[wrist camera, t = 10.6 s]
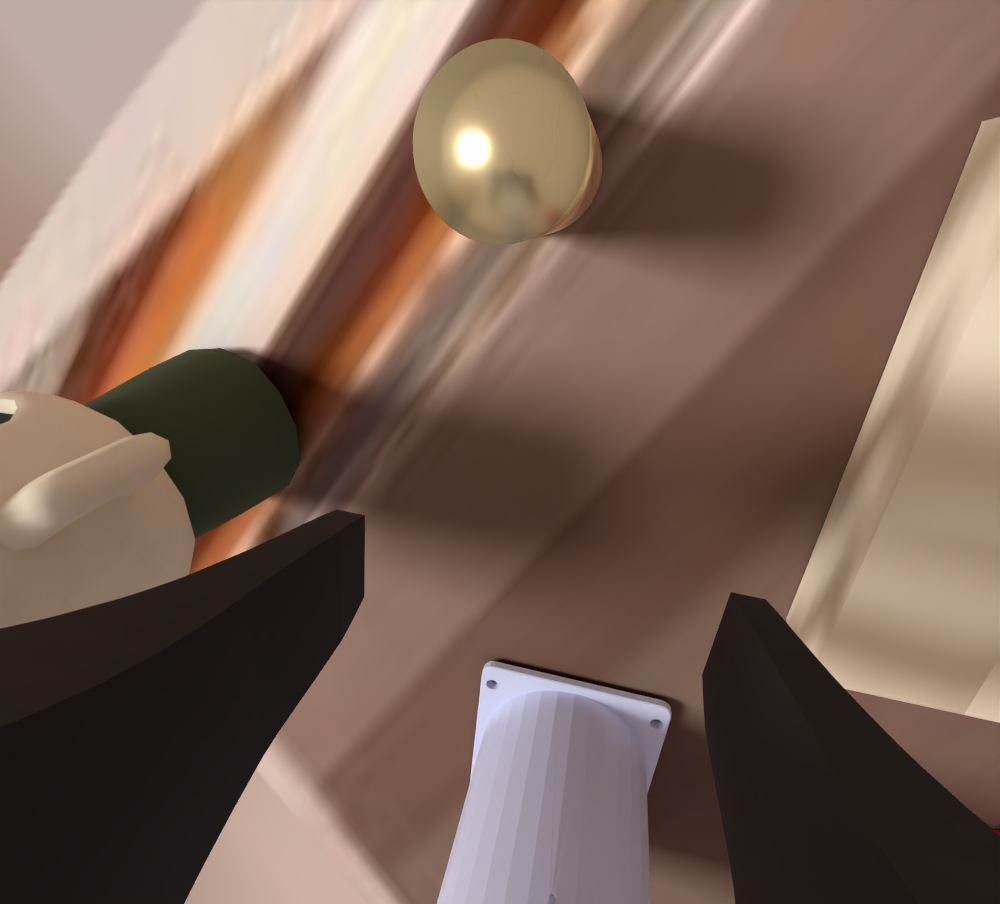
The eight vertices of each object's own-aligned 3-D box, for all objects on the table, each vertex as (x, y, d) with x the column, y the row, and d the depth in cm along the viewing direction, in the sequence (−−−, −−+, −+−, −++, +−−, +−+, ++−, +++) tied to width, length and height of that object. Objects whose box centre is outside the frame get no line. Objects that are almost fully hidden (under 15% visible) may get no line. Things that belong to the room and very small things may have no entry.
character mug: (275, 268, 19) (-259, 353, 8) (391, 436, 21) (98, 718, 9) (100, 409, 23) (-424, 605, 12) (209, 541, 25) (-155, 828, 13)
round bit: (591, 240, 17) (575, 253, 12) (477, 227, 17) (410, 235, 12) (612, 103, 15) (605, 44, 10) (487, 93, 16) (416, 33, 11)
